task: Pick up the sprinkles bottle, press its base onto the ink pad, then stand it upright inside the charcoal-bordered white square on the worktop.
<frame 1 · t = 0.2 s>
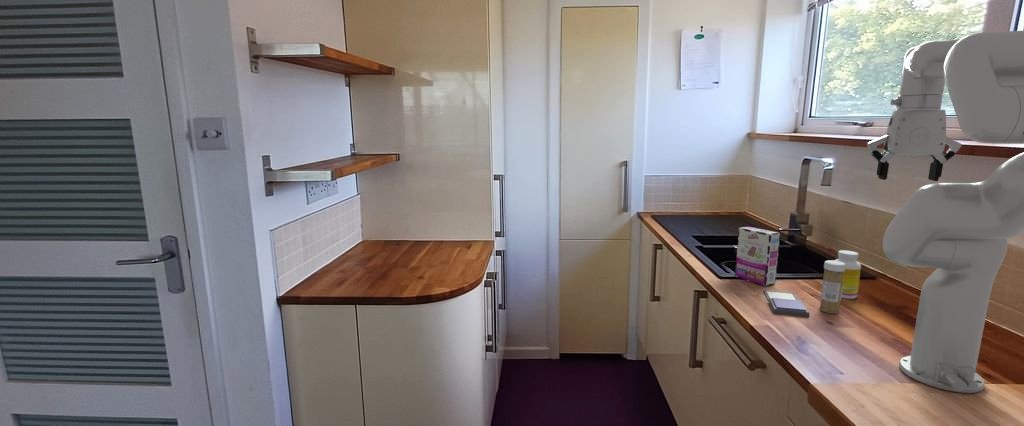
hand: (907, 179, 111), 36 cm above the worktop, tool pointing down, fingers open, 9 cm apart
candy bar box: (754, 281, 151), on the worktop
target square: (781, 297, 137), on the worktop
sprinkles bottle: (829, 311, 127), on the worktop
ink pad: (788, 309, 128), on the worktop
supplement bottle: (842, 296, 138), on the worktop
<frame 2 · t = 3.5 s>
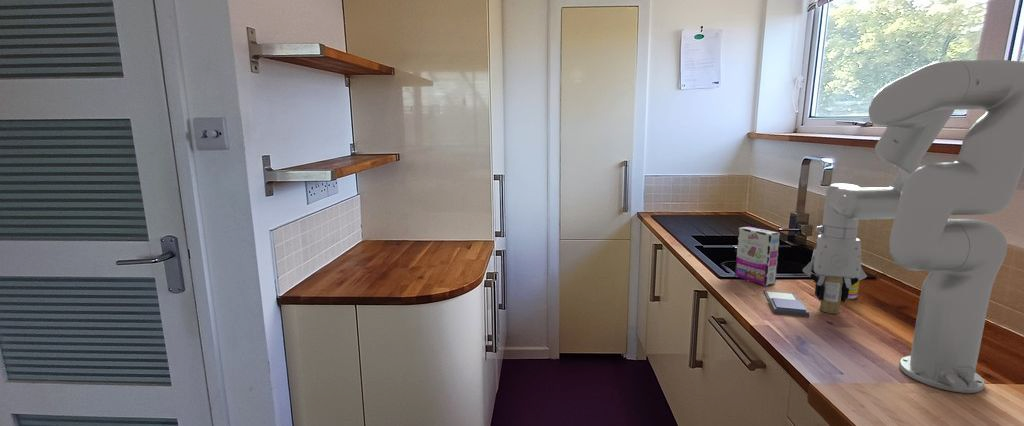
hand: (830, 298, 126), 3 cm above the worktop, tool pointing down, fingers closed on sprinkles bottle, 4 cm apart
sprinkles bottle: (829, 311, 127), on the worktop, touching gripper
everything else where it was.
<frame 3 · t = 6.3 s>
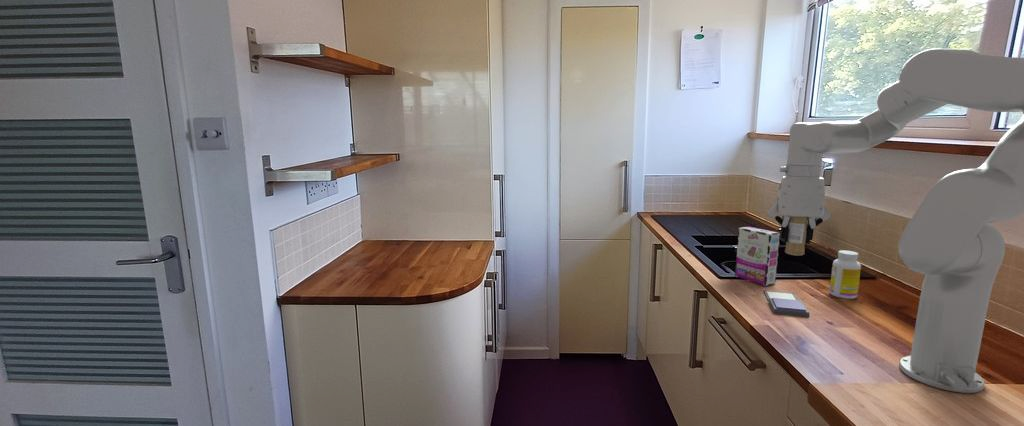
hand: (795, 241, 125), 19 cm above the worktop, tool pointing down, fingers closed on sprinkles bottle, 4 cm apart
sprinkles bottle: (794, 254, 125), point 15 cm above the worktop, touching gripper
everything else where it was.
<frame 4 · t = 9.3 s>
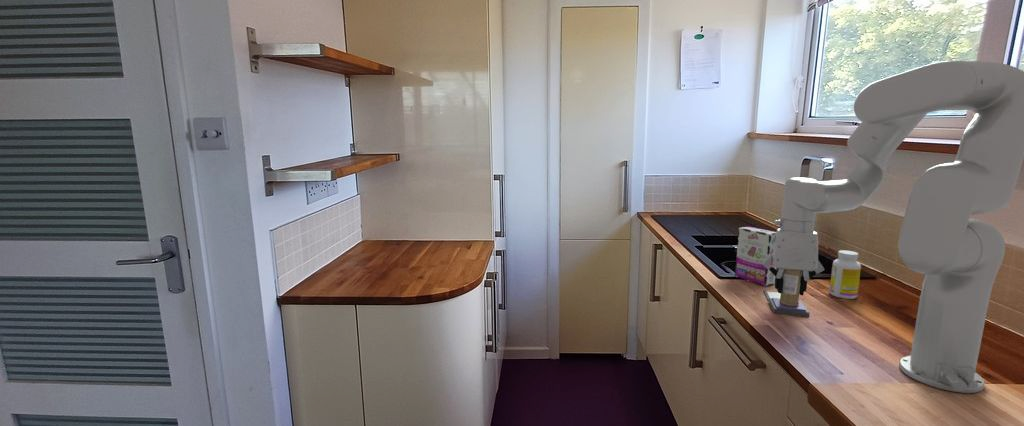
hand: (789, 291, 127), 5 cm above the worktop, tool pointing down, fingers closed on sprinkles bottle, 4 cm apart
sprinkles bottle: (788, 304, 128), point 1 cm above the worktop, touching gripper, ink pad
everything else where it was.
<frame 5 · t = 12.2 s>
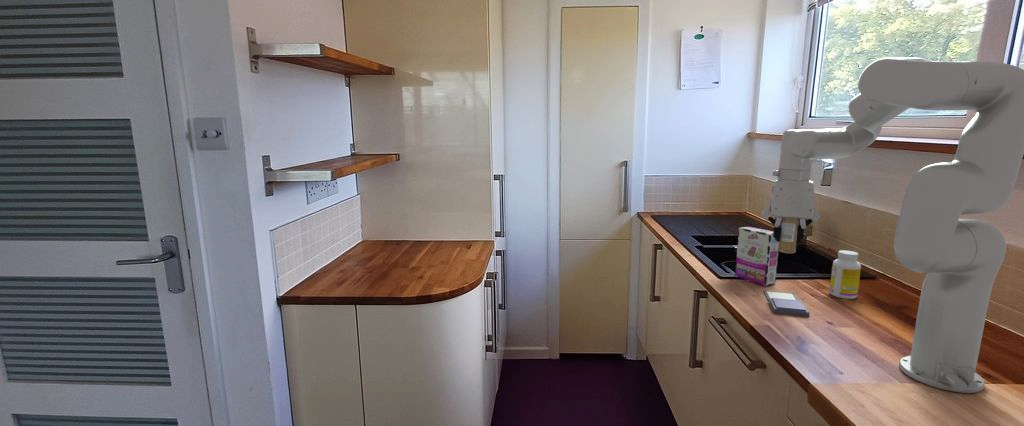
hand: (787, 240, 133), 17 cm above the worktop, tool pointing down, fingers closed on sprinkles bottle, 4 cm apart
sprinkles bottle: (786, 252, 134), point 13 cm above the worktop, touching gripper
everything else where it was.
when the fingers open (4 cm above the worktop, at t = 15.1 s): sprinkles bottle stays where it is, resting on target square.
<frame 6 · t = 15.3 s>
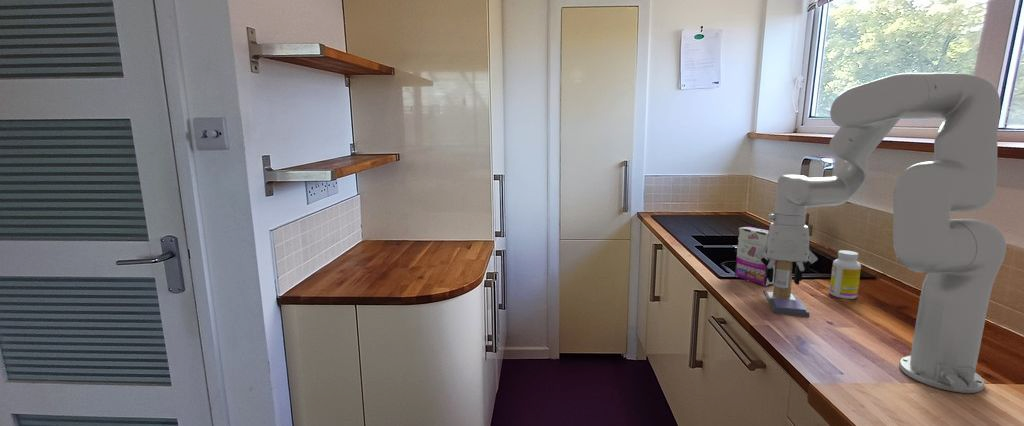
hand: (783, 281, 136), 5 cm above the worktop, tool pointing down, fingers open, 6 cm apart
sprinkles bottle: (781, 297, 136), resting on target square
everything else where it was.
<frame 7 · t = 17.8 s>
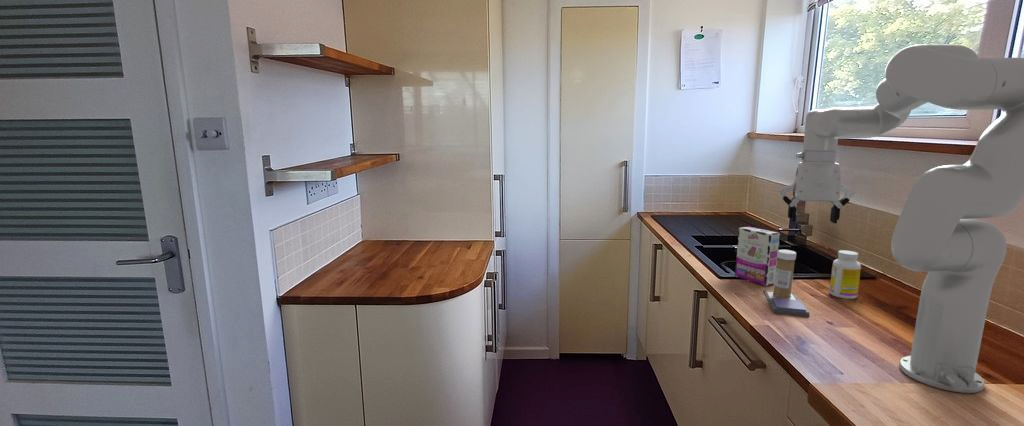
hand: (812, 221, 129), 23 cm above the worktop, tool pointing down, fingers open, 9 cm apart
nothing on the worktop moved.
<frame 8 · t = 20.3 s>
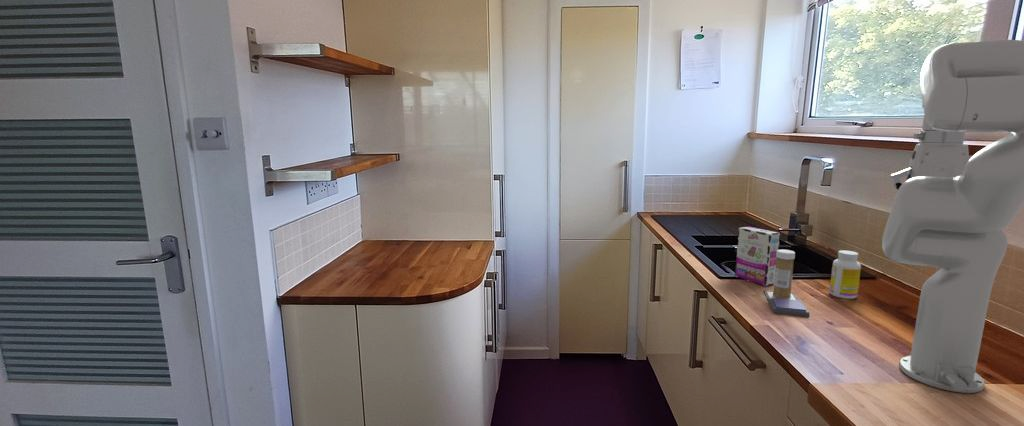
hand: (930, 211, 113), 28 cm above the worktop, tool pointing down, fingers open, 9 cm apart
nothing on the worktop moved.
at the end: sprinkles bottle 0.3 cm off-centre on the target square, point 0.1 cm above the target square's base; sprinkles bottle tilted 1°; the gripper is holding nothing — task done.
